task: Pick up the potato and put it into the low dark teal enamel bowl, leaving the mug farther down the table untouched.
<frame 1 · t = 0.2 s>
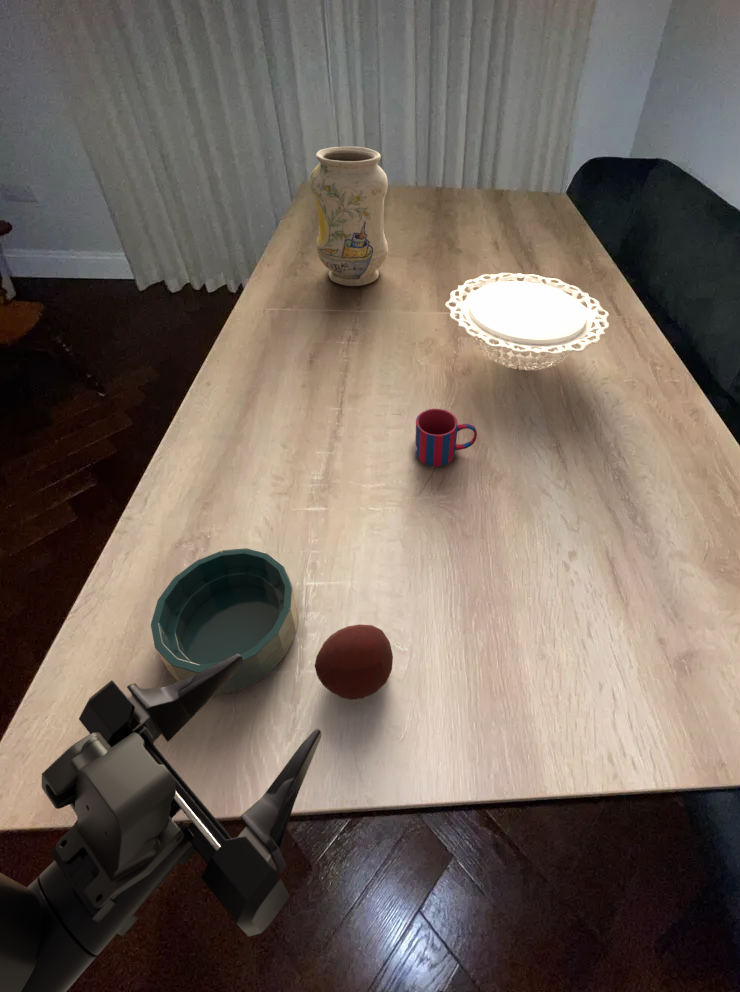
hand: (278, 692, 42), 17 cm above the table, tool horizontal, fingers open, 9 cm apart
vase: (354, 275, 138), on the table
potato: (356, 675, 60), on the table
mug: (444, 454, 89), on the table
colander: (518, 361, 111), on the table
bowl: (234, 630, 63), on the table
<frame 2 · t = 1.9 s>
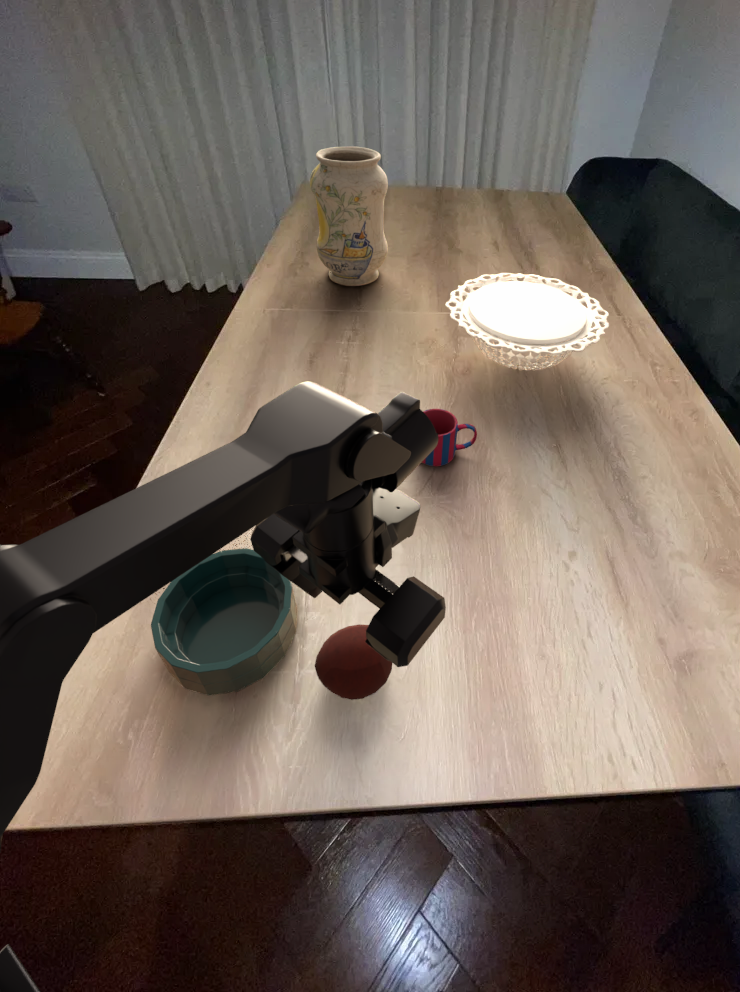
hand: (350, 620, 52), 12 cm above the table, tool pointing down, fingers open, 9 cm apart
nothing on the table moved.
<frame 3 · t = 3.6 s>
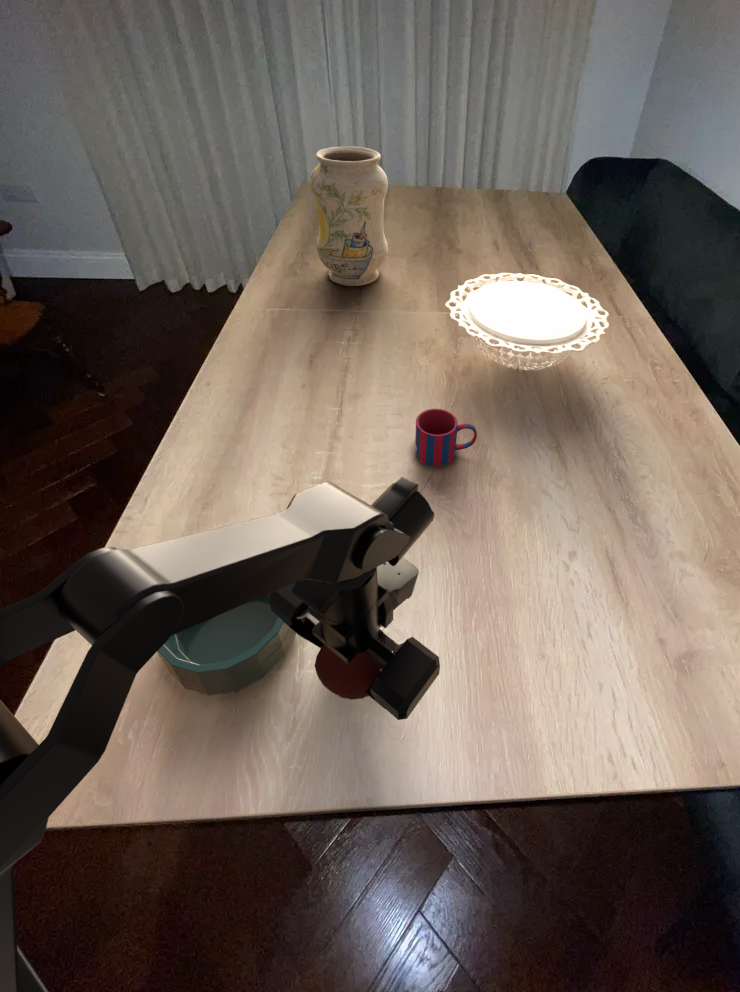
hand: (355, 669, 59), 1 cm above the table, tool pointing down, fingers closed on potato, 8 cm apart
potato: (356, 675, 60), on the table, touching gripper
everything else where it was.
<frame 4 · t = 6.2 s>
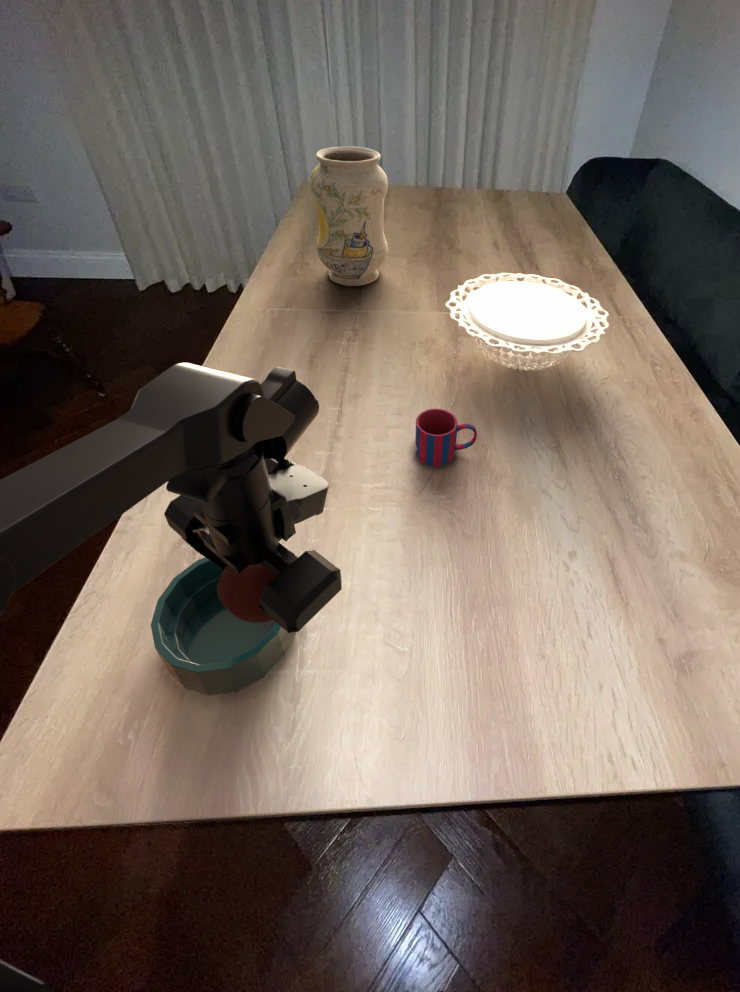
hand: (264, 595, 55), 11 cm above the table, tool pointing down, fingers closed on potato, 8 cm apart
potato: (266, 603, 56), point 10 cm above the table, touching gripper
everything else where it was.
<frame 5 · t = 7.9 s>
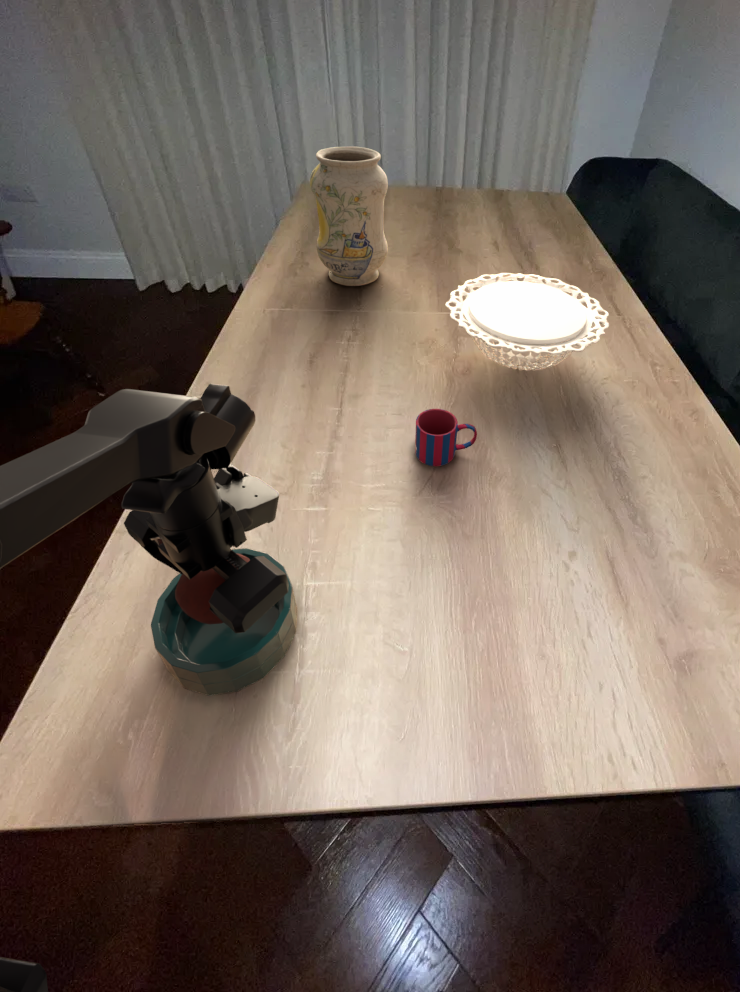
hand: (221, 598, 58), 7 cm above the table, tool pointing down, fingers closed on potato, 8 cm apart
potato: (223, 605, 59), point 6 cm above the table, touching gripper
everything else where it was.
when the fingers open (5 cm above the table, at t = 9.1 s): potato drops 3 cm, resting on bowl.
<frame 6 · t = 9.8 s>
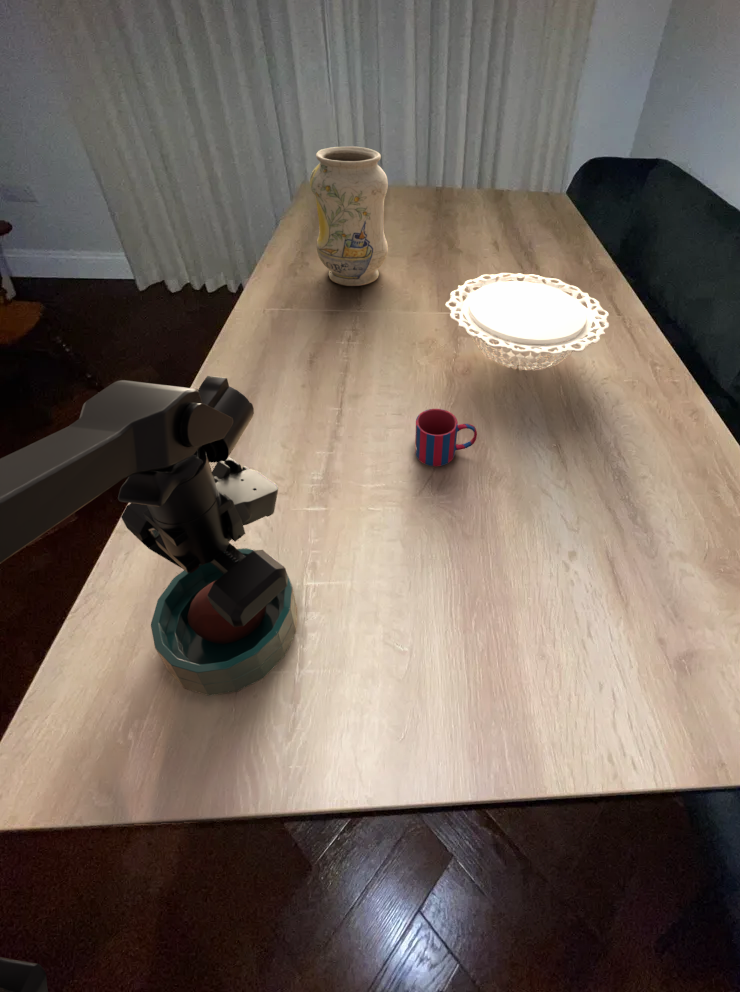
hand: (219, 592, 58), 8 cm above the table, tool pointing down, fingers open, 9 cm apart
potato: (233, 624, 63), resting on bowl
everything else where it was.
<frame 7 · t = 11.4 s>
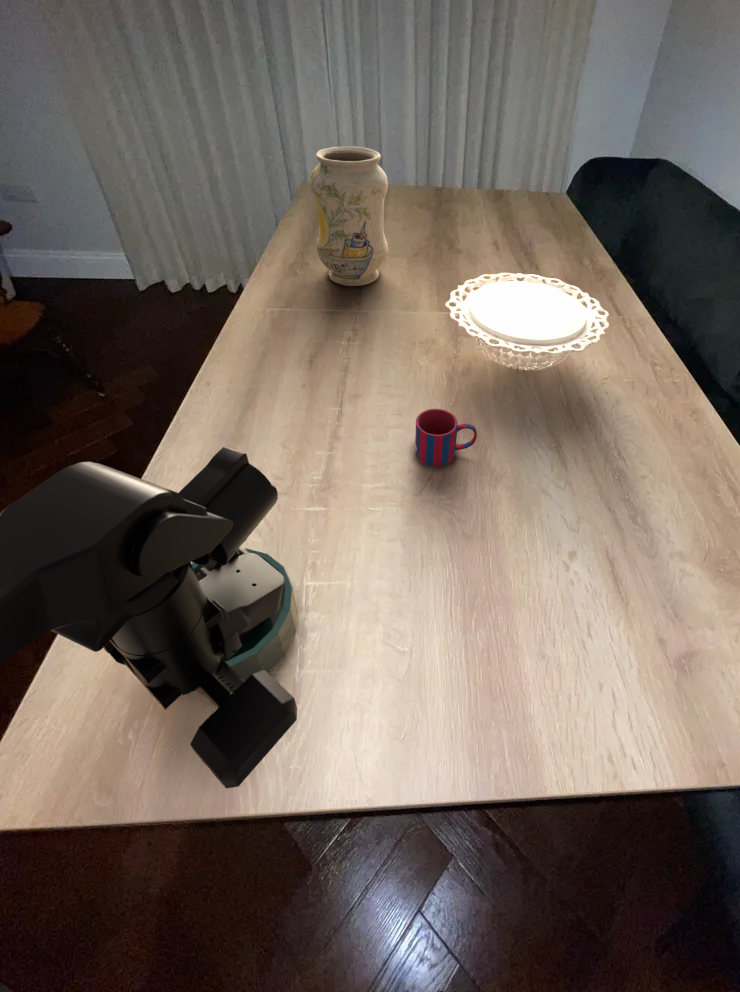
hand: (209, 707, 46), 12 cm above the table, tool pointing down, fingers open, 9 cm apart
nothing on the table moved.
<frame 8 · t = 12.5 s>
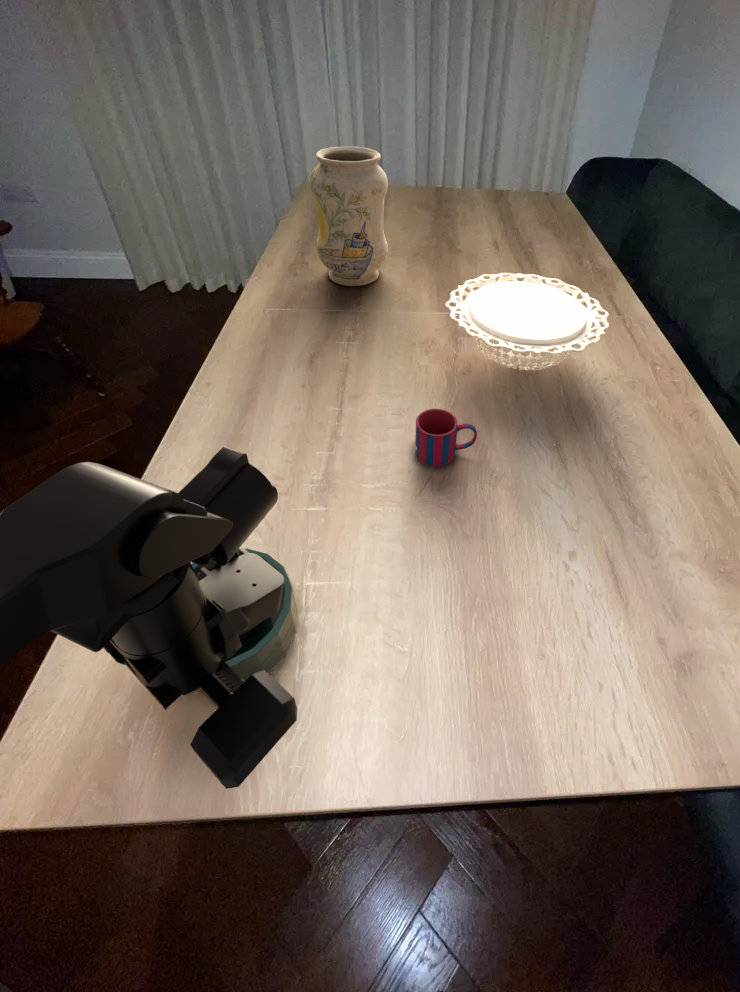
hand: (210, 707, 46), 12 cm above the table, tool pointing down, fingers open, 9 cm apart
nothing on the table moved.
at the end: potato inside the target area in the bowl (0.6 cm from its centre), point 0.3 cm above the bowl's base; the gripper is holding nothing; mug moved 0.2 cm from its start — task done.
